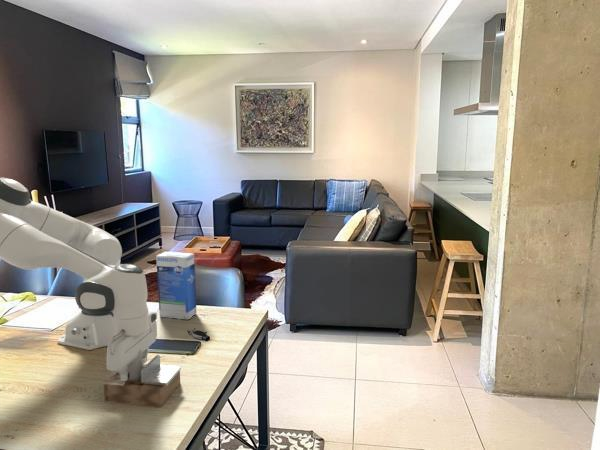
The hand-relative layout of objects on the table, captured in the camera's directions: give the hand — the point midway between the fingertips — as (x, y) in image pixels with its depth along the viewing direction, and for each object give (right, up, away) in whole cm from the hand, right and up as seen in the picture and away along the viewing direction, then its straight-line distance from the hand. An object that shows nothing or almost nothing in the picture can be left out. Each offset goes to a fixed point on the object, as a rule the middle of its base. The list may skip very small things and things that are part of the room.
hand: (134, 370), depth 121 cm
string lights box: (-4, +3, +57) cm, 57 cm away
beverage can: (0, -6, +1) cm, 6 cm away
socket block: (+2, -6, +1) cm, 7 cm away
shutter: (+8, -1, -1) cm, 8 cm away
